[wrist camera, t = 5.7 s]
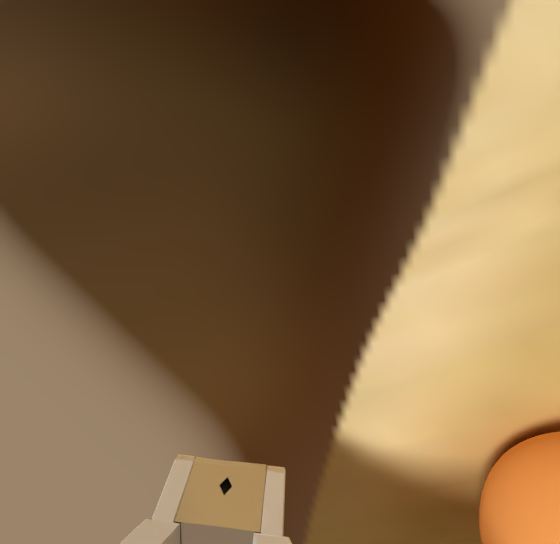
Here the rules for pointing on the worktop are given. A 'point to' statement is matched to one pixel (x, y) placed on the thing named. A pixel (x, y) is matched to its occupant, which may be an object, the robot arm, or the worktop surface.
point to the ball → (523, 494)
